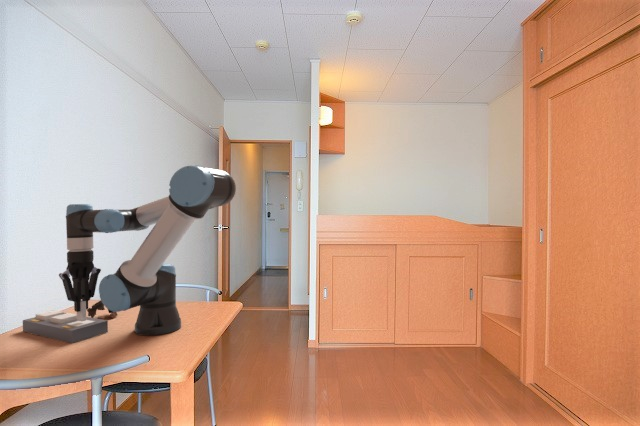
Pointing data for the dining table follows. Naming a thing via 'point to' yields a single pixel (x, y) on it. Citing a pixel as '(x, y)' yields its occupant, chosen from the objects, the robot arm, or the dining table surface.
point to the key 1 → (48, 315)
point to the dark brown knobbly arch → (99, 306)
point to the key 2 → (80, 323)
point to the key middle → (64, 318)
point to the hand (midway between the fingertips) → (81, 320)
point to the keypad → (65, 329)
